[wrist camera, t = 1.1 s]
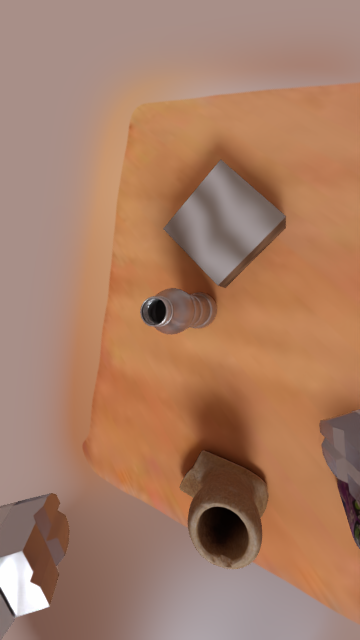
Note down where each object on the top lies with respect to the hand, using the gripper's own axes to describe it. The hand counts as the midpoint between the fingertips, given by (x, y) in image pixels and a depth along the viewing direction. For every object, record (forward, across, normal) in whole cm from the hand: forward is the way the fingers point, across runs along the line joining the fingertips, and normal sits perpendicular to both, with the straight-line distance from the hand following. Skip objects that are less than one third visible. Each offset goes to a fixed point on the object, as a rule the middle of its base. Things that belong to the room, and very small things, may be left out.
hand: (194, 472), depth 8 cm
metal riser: (+42, -14, -8) cm, 45 cm away
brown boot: (+34, -4, +35) cm, 49 cm away
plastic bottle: (+42, -7, +4) cm, 43 cm away
